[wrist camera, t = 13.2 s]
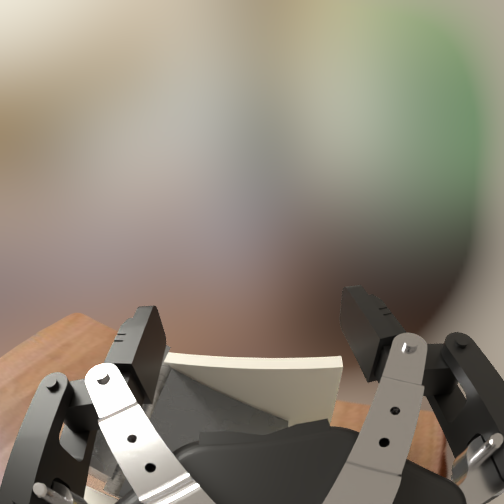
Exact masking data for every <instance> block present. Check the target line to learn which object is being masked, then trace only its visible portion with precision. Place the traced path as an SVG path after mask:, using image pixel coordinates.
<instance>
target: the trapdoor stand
mask: <svg viewBox="0 0 504 504" xmlns="http://www.w3.org/2000/svg"><path fill="white" fill-rule="evenodd" d="M163 364H167V365H169V366H170V367H172V368H173V369H175V370H177V371H178V372H180V373H182V374H184V375H186V376H188V377H190V378H192V379H193V380H195V381H197V382H199V383H201V384H203V385H205V386H207V387H209V388H211V389H214V390H216V391H218V392H220V393H222V394H224V395H226V396H228V397H231V398H233V399H235V400H237V401H240V402H242V403H244V404H247V405H249V406H251V407H254V408H256V409H259V410H261V411H264V412H266V413H269V414H271V415H274V416H276V417H279V418H282V419H284V420H287V421H288V427H290V426H293V425H295V424H299V423H306V422H311V421H317V420H322V419H327V418H328V421H329V425H330V422H331V419H332V415H333V411H334V406H335V402H336V398H337V393H338V389H339V384H340V379H341V375H342V370H343V364H342V358H341V356H337V357H315V358H240V357H219V356H217V357H216V356H202V355H190V354H179V353H169V352H168V354H167V356H166V358H165V360H164V362H163ZM84 500H85V501H86V502H87V503H88V504H115V503H116V502H117V501H118V499H116V498H113V497H111V496H108V495H106V494H103V493H101V492H99V491H97V490H94V489H92V488H90V487H88V486H86V488H85V494H84Z"/></svg>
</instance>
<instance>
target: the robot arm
mask: <svg viewBox="0 0 504 504" xmlns="http://www.w3.org/2000/svg"><path fill="white" fill-rule="evenodd" d="M340 325H341V329H342V331H343V333H344V335H345V337H346V339H347V341H348V343H349V345H350V347H351V349H352V351H353V353H354V355H355V357H356V359H357V361H358V363H359V365H360V368H361V370H362V372H363V374H364V376H365V378H366V380H367V382H372V381H376V380H377V381H378V383H379V386H378V389H377V391H376V394H375V397H374V400H373V402H372V405H371V407H370V410H369V412H368V415H367V417H366V419H365V422H364V424H363V426H362V429H361V431H360V433H359V432H357V431H354V430H351V429H347V428H343V427H333V426H330V425H329V421H328V418H327V419H322V420H317V421H311V422H306V423H299V424H295V425H293V426H290V427H287V428H285V429H282V430H279V431H276V432H273V433H270V434H267V435H258V434H249V433H242V432H235V431H218V432H199V440H198V441H194V442H191V443H188V444H186V445H184V446H181V447H180V448H178V449H176V450H175V451H173V452H171V451H170V449H169V448H168V447H167V445H166V444H165V443H164V441H163V440H162V439H161V437H160V436H159V434H158V433H157V431H156V430H155V429H154V427H153V426H152V424H151V423H150V421H149V420H148V418H147V417H146V415H145V414H144V412H143V410H142V405H143V404H153V399H154V395H155V390H156V386H157V382H158V377H159V373H160V369H161V365H162V361H163V357H164V353H165V349H166V336H165V332H164V329H163V326H162V322H161V319H160V316H159V313H158V310H157V307H156V306H142V307H138V308H137V310H136V313H135V315H134V317H133V318H129V319H127V320H126V321H125V322H124V323H123V324H122V325H121V327H120V329H119V331H118V333H117V335H116V337H115V339H114V342H113V344H112V346H111V348H110V350H109V352H108V355H107V357H106V359H105V361H104V364H100V365H97V366H95V367H94V368H92V369H91V370H90V371H89V372H88V374H87V375H86V379H81V380H75V381H70V382H69V380H68V379H67V377H66V376H65V375H64V374H63V373H59V372H56V373H51V374H49V375H47V376H46V377H45V378H44V379H43V380H42V381H41V383H40V384H39V387H38V389H37V391H36V393H35V395H34V397H33V399H32V402H31V404H30V406H29V408H28V411H27V413H26V415H25V418H24V420H23V422H22V425H21V427H20V430H19V432H18V435H17V438H16V440H15V443H14V446H13V449H12V451H11V454H10V457H9V460H8V463H7V467H6V470H5V473H4V476H3V480H2V484H1V487H0V504H88V503H87V502H86V501H85V500H84V494H85V488H86V482H87V477H88V471H89V466H90V461H91V457H92V452H93V447H94V443H95V439H96V434H97V430H99V429H101V430H102V432H103V434H104V436H105V438H106V441H107V443H108V445H109V447H110V449H111V451H112V453H113V455H114V456H115V458H116V460H117V462H118V464H119V466H120V468H121V469H122V471H123V473H124V475H125V476H126V478H127V480H128V481H129V483H130V485H131V486H132V489H131V490H130V491H129V492H128V493H126V494H125V495H124V496H123V497H122V498H121V499H119V500H118V501H117V502H116V503H115V504H486V503H488V502H490V501H491V500H493V499H494V498H496V497H498V496H499V495H501V494H502V493H503V492H504V381H503V379H502V378H501V376H500V375H499V374H498V372H497V371H496V370H495V368H494V367H493V366H492V364H491V363H490V361H489V360H488V359H487V357H486V356H485V355H484V354H483V352H482V351H481V350H480V348H479V347H478V346H477V345H476V343H475V342H474V341H473V340H472V339H471V338H470V337H469V336H468V335H466V334H463V333H458V332H455V333H451V334H449V335H448V336H447V337H446V339H445V342H444V344H427V343H426V342H425V340H424V339H423V338H422V337H420V336H418V335H416V334H413V333H407V332H406V331H405V330H404V328H403V327H402V326H401V325H400V323H399V322H398V321H397V319H396V318H395V317H394V315H393V314H392V313H391V311H390V310H389V309H388V308H387V306H386V305H385V304H384V302H383V301H382V300H381V299H379V298H378V297H376V296H374V295H368V294H367V292H366V291H365V290H364V288H363V287H362V286H361V285H358V286H350V287H344V288H343V291H342V300H341V311H340ZM458 382H459V383H460V385H461V387H462V388H463V390H464V391H465V393H466V399H465V397H464V395H463V393H462V392H461V390H460V389H459V387H458V385H457V384H458ZM423 396H426V397H427V399H428V401H429V403H430V405H431V407H432V409H433V411H434V413H435V416H436V418H437V420H438V422H439V424H440V426H441V428H442V430H443V432H444V434H445V437H446V439H447V441H448V443H449V446H450V448H451V450H452V452H453V455H454V457H455V460H454V462H453V465H452V475H451V480H452V481H453V482H452V481H451V480H449V479H446V478H444V477H442V476H440V475H438V474H436V473H434V472H431V471H429V470H427V469H425V468H423V467H421V466H419V465H417V464H415V463H413V462H412V461H410V460H408V459H406V458H407V455H408V452H409V449H410V446H411V442H412V439H413V435H414V432H415V428H416V424H417V420H418V416H419V412H420V407H421V402H422V397H423ZM63 422H64V423H65V425H64V428H63V431H62V435H61V438H60V441H59V433H60V430H61V427H62V424H63Z"/></svg>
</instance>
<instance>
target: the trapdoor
mask: <svg viewBox="0 0 504 504" xmlns="http://www.w3.org/2000/svg"><path fill="white" fill-rule="evenodd" d="M169 350H170V347H169V346H167V345H166V349H165V353H164V357H163V361H162V365H161V369H160V373H159V377H158V382H157V386H156V390H155V395H154V399H153V404H143V405H142V410H143V412H144V414H145V415H146V417H147V418H148V420H149V421H150V423H151V424H152V426H153V427H154V429H155V430H156V431H157V433H158V434H159V436H160V437H161V439H162V440H163V441H164V443H165V444H166V445H167V447H168V448H169V449H170V451H171V452H173V451H175V450H176V449H178V448H180V447H181V446H184V445H186V444H188V443H191V442H194V441H198V440H199V432H218V431H235V432H242V433H249V434H258V435H267V434H270V433H273V432H276V431H279V430H282V429H285V428H287V427H288V421H287V420H284V419H282V418H279V417H276V416H274V415H271V414H269V413H266V412H264V411H261V410H259V409H256V408H254V407H251V406H249V405H247V404H244V403H242V402H240V401H237V400H235V399H233V398H231V397H228V396H226V395H224V394H222V393H220V392H218V391H216V390H214V389H211V388H209V387H207V386H205V385H203V384H201V383H199V382H197V381H195V380H193V379H192V378H190V377H188V376H186V375H184V374H182V373H180V372H178V371H177V370H175V369H173V368H172V367H170V366H169V365H167V364H163V362H164V360H165V358H166V356H167V354H168V352H169ZM88 474H90V475H92V476H94V477H95V478H97V479H99V480H101V481H103V482H106V481H107V482H106V485H105V487H104V489H103V490H104V491H106V492H107V493H109V494H111V495H113V496H115V497H118V498H120V499H121V498H122V497H123V496H124V495H125V494H126V493H128V492H129V491H130V490H131V489H132V486H131V485H130V483H129V481H128V480H127V478H126V476H125V475H124V473H123V471H122V469H121V468H120V466H119V464H118V462H117V460H116V458H115V456H114V455H113V453H112V451H111V449H110V447H109V445H108V443H107V441H106V438H105V436H104V434H103V432H102V430H101V429H99V430H97V434H96V439H95V443H94V447H93V452H92V457H91V461H90V466H89V471H88Z"/></svg>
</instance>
